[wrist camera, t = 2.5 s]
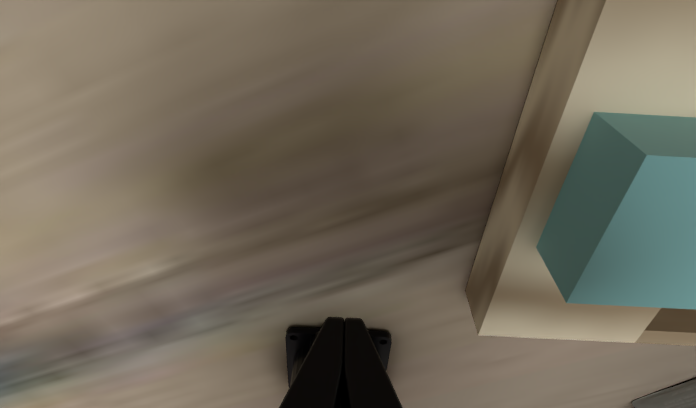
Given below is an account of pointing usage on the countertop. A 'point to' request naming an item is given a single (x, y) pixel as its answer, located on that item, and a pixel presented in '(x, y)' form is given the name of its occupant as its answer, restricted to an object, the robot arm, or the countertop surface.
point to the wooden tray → (558, 154)
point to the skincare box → (670, 397)
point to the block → (627, 215)
